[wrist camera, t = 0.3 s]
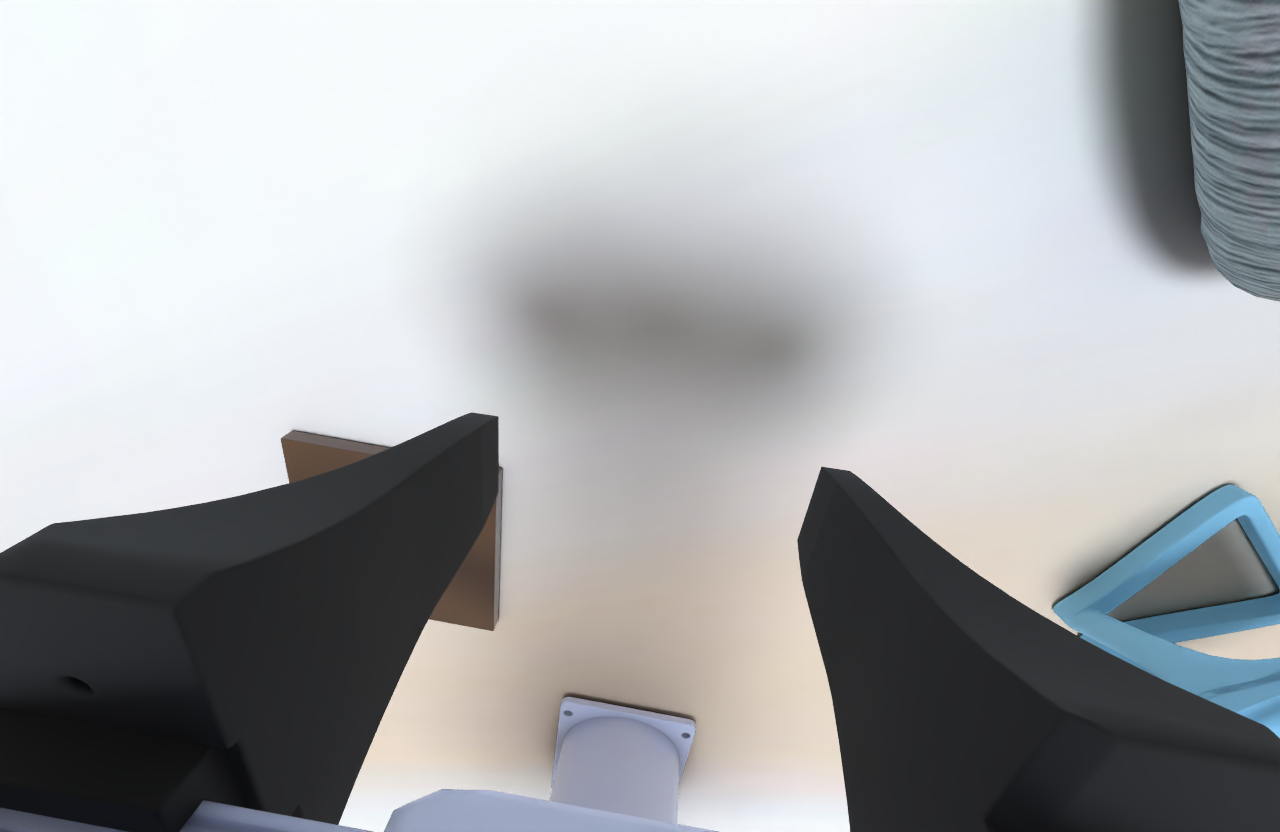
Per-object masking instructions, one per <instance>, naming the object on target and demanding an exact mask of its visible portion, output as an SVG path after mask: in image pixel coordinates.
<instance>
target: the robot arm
mask: <svg viewBox="0 0 1280 832" xmlns="http://www.w3.org/2000/svg"><path fill="white" fill-rule="evenodd" d="M498 492H499V462H498V417H497V416H491V415H484V414H478V413H469V414H466V415H463V416H461V417H458V418H456V419H454V420H452V421H449V422H447V423H445V424H443V425H441V426H438V427H436V428H434V429H432V430H430V431H428V432H425V433H423V434H421V435H419V436H417V437H414V438H412V439H410V440H408V441H406V442H403V443H401V444H399V445H397V446H394V447H392V448H389V449H387V450H384V451H382V452H379V453H377V454H374V455H372V456H370V457H367V458H365V459H362V460H360V461H357V462H355V463H352V464H349V465H347V466H344V467H341V468H338V469H335V470H332V471H329V472H326V473H323V474H320V475H316V476H313V477H310V478H307V479H304V480H300V481H297V482H293V483H289V484H285V485H281V486H277V487H273V488H269V489H265V490H261V491H257V492H253V493H249V494H245V495H241V496H236V497H232V498H227V499H222V500H217V501H212V502H207V503H201V504H196V505H190V506H184V507H178V508H172V509H167V510H160V511H153V512H147V513H139V514H131V515H123V516H114V517H106V518H98V519H90V520H81V521H73V522H62V523H54V524H51V525H49V526H47V527H45V528H43V529H42V530H40V531H38V532H37V533H35V534H33V535H32V536H30V537H28V538H26V539H25V540H23V541H21V542H19V543H18V544H16V545H14V546H12V547H10V548H9V549H7V550H5V551H3V552H2V553H0V832H372V831H367V830H361V829H356V828H351V827H345V826H340V825H338V824H339V821H340V819H341V816H342V814H343V811H344V809H345V806H346V804H347V801H348V798H349V796H350V793H351V791H352V788H353V786H354V783H355V781H356V778H357V776H358V774H359V771H360V769H361V766H362V764H363V762H364V759H365V757H366V755H367V752H368V750H369V747H370V745H371V743H372V740H373V738H374V736H375V733H376V731H377V728H378V726H379V724H380V721H381V719H382V717H383V715H384V712H385V710H386V708H387V706H388V703H389V701H390V699H391V697H392V695H393V692H394V690H395V688H396V686H397V683H398V681H399V679H400V677H401V675H402V672H403V670H404V668H405V666H406V664H407V662H408V660H409V658H410V655H411V653H412V651H413V649H414V647H415V645H416V643H417V641H418V639H419V637H420V634H421V632H422V630H423V628H424V626H425V625H426V623H427V621H428V619H429V617H430V616H431V614H432V612H433V610H434V608H435V607H436V605H437V604H438V602H439V600H440V599H441V597H442V595H443V594H444V592H445V590H446V589H447V587H448V586H449V584H450V582H451V581H452V579H453V577H454V576H455V574H456V573H457V571H458V569H459V568H460V566H461V564H462V563H463V561H464V560H465V558H466V556H467V555H468V553H469V551H470V550H471V548H472V546H473V545H474V543H475V541H476V540H477V538H478V536H479V535H480V533H481V531H482V530H483V528H484V525H485V523H486V521H487V519H488V516H489V514H490V512H491V509H492V507H493V505H494V502H495V500H496V497H497V495H498ZM798 550H799V560H800V568H801V576H802V582H803V586H804V590H805V594H806V598H807V602H808V606H809V609H810V613H811V617H812V621H813V624H814V628H815V632H816V636H817V639H818V643H819V647H820V650H821V654H822V658H823V662H824V665H825V669H826V673H827V677H828V681H829V686H830V690H831V695H832V700H833V706H834V713H835V719H836V725H837V732H838V738H839V744H840V752H841V759H842V766H843V774H844V781H845V789H846V796H847V804H848V813H849V822H850V832H1280V738H1279V737H1278V736H1277V735H1276V734H1275V733H1274V732H1272V731H1271V730H1270V729H1269V728H1268V727H1266V726H1265V725H1263V724H1260V723H1258V722H1256V721H1254V720H1251V719H1249V718H1247V717H1245V716H1242V715H1240V714H1238V713H1236V712H1233V711H1231V710H1229V709H1227V708H1225V707H1222V706H1220V705H1218V704H1216V703H1213V702H1211V701H1209V700H1207V699H1204V698H1202V697H1200V696H1198V695H1195V694H1193V693H1191V692H1189V691H1186V690H1184V689H1182V688H1180V687H1177V686H1175V685H1173V684H1171V683H1169V682H1166V681H1164V680H1162V679H1160V678H1158V677H1156V676H1154V675H1152V674H1150V673H1148V672H1146V671H1144V670H1142V669H1140V668H1138V667H1136V666H1134V665H1132V664H1130V663H1128V662H1126V661H1124V660H1122V659H1120V658H1118V657H1116V656H1114V655H1112V654H1110V653H1108V652H1106V651H1104V650H1103V649H1101V648H1099V647H1097V646H1095V645H1093V644H1091V643H1090V642H1088V641H1086V640H1084V639H1082V638H1080V637H1078V636H1077V635H1075V634H1073V633H1071V632H1070V631H1068V630H1066V629H1064V628H1063V627H1061V626H1059V625H1057V624H1056V623H1054V622H1052V621H1051V620H1049V619H1047V618H1045V617H1044V616H1042V615H1040V614H1039V613H1037V612H1035V611H1033V610H1032V609H1030V608H1029V607H1027V606H1025V605H1024V604H1022V603H1021V602H1019V601H1017V600H1016V599H1014V598H1013V597H1011V596H1009V595H1008V594H1007V593H1005V592H1004V591H1002V590H1001V589H999V588H998V587H996V586H995V585H993V584H992V583H990V582H989V581H987V580H986V579H984V578H983V577H981V576H980V575H978V574H977V573H975V572H974V571H973V570H971V569H970V568H968V567H967V566H966V565H964V564H963V563H962V562H960V561H959V560H958V559H956V558H955V557H954V556H952V555H951V554H950V553H949V552H947V551H946V550H945V549H943V548H942V547H941V546H939V545H938V544H937V543H936V542H934V541H933V540H932V539H931V538H929V537H928V536H927V535H926V534H924V533H923V532H922V531H921V530H920V529H918V528H917V527H916V526H915V525H914V524H912V523H911V522H910V521H909V520H908V519H907V518H905V517H904V516H903V515H902V514H901V513H900V512H898V511H897V510H896V509H895V508H894V507H893V506H892V505H890V504H889V503H888V502H887V501H886V500H885V499H884V498H882V497H881V496H880V495H879V494H878V493H877V492H875V491H874V490H873V489H872V488H871V487H870V486H868V485H867V484H866V483H865V482H864V481H862V480H861V479H860V478H859V477H857V476H856V475H855V474H853V473H852V472H850V471H846V470H839V469H833V468H826V467H821V470H820V473H819V476H818V479H817V482H816V485H815V488H814V492H813V495H812V498H811V501H810V504H809V507H808V510H807V513H806V516H805V519H804V522H803V525H802V528H801V531H800V534H799V537H798ZM695 732H696V724H695V722H694V721H692V720H690V719H686V718H680V717H675V716H670V715H665V714H659V713H654V712H649V711H643V710H638V709H633V708H628V707H622V706H617V705H612V704H606V703H601V702H596V701H590V700H585V699H580V698H575V697H565V698H563V699H562V702H561V706H560V715H559V724H558V732H557V741H556V749H555V758H554V767H553V775H552V784H551V788H552V791H551V795H550V800H549V801H546V800H541V799H535V798H530V797H524V796H519V795H513V794H507V793H502V792H496V791H488V790H452V789H441V790H439V791H437V792H434V793H432V794H429V795H427V796H425V797H422V798H420V799H417V800H415V801H412V802H410V803H408V804H406V805H404V806H402V807H400V808H398V809H396V810H394V811H393V813H392V815H391V818H390V820H389V822H388V824H387V826H386V828H385V830H384V832H718V831H712V830H707V829H701V828H695V827H690V826H684V825H679V824H677V812H678V786H679V783H680V780H681V776H682V773H683V770H684V767H685V764H686V761H687V758H688V754H689V751H690V748H691V745H692V742H693V739H694V735H695Z"/></svg>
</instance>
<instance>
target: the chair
mask: <svg viewBox="0 0 1280 832" xmlns="http://www.w3.org/2000/svg"><path fill="white" fill-rule="evenodd" d="M1236 518H1237V519H1238V521H1239V523H1240V524H1241V526H1242V528H1243V529H1244V531H1245V533H1246V534H1247V536H1248V537H1249V539H1250V541H1251V542H1252V544H1253V546H1254V547H1255V549H1256V551H1257V552H1258V554H1259V556H1260V557H1261V559H1262V561H1263V562H1264V564H1265V566H1266V567H1267V569H1268V570H1269V572H1270V574H1271V575H1272V577H1273V579H1274V580H1275V582H1276V584H1277V585H1278V587H1279V589H1280V535H1279V533H1278V532H1277V530H1276V528H1275V526H1274V525H1273V523H1272V521H1271V520H1270V518H1269V516H1268V514H1267V513H1266V511H1265V509H1264V507H1263V506H1262V504H1261V502H1260V501H1259V499H1258V498H1257V497H1255V496H1254V495H1252V494H1250V493H1248V492H1246V491H1245V490H1243V489H1241V488H1239V487H1237V486H1235V485H1231V484H1229V485H1226V486H1223V487H1221V488H1219V489H1218V490H1216V491H1214V492H1212V493H1211V494H1209V495H1208V496H1206V497H1205V498H1203V499H1202V500H1200V501H1199V502H1197V503H1196V504H1195V505H1193V506H1192V507H1190V508H1189V509H1188V510H1186V511H1185V512H1184V513H1182V514H1181V515H1180V516H1178V517H1177V518H1175V519H1174V520H1173V521H1171V522H1170V523H1169V524H1167V525H1166V526H1165V527H1163V528H1162V529H1161V530H1159V531H1158V532H1157V533H1155V534H1154V535H1153V536H1152V537H1150V538H1149V539H1148V540H1146V541H1145V542H1144V543H1142V544H1141V545H1140V546H1138V547H1137V548H1136V549H1134V550H1133V551H1132V552H1130V553H1129V554H1128V555H1126V556H1125V557H1124V558H1122V559H1121V560H1120V561H1118V562H1117V563H1116V564H1114V565H1113V566H1112V567H1110V568H1109V569H1107V570H1106V571H1105V572H1103V573H1102V574H1101V575H1099V576H1098V577H1097V578H1095V579H1094V580H1092V581H1091V582H1089V583H1088V584H1086V585H1085V586H1083V587H1082V588H1080V589H1079V590H1077V591H1076V592H1074V593H1073V594H1071V595H1070V596H1068V597H1066V598H1065V599H1063V600H1062V601H1060V602H1059V603H1057V604H1056V605H1055V606H1054V612H1055V613H1056V614H1057V615H1058V616H1059V617H1060V618H1061V619H1062V620H1063V621H1064V622H1065V623H1066V624H1067V625H1068V626H1069V627H1071V628H1072V629H1074V630H1076V631H1078V632H1080V633H1082V635H1081V636H1080V638H1082V639H1084V640H1086V641H1088V642H1090V643H1091V644H1093V645H1095V646H1097V647H1099V648H1101V649H1103V650H1104V651H1106V652H1108V653H1110V654H1112V655H1114V656H1116V657H1118V658H1120V659H1122V660H1124V661H1126V662H1128V663H1130V664H1132V665H1134V666H1136V667H1138V668H1140V669H1142V670H1144V671H1146V672H1148V673H1150V674H1152V675H1154V676H1156V677H1158V678H1160V679H1162V680H1164V681H1166V682H1169V683H1171V684H1173V685H1175V686H1177V687H1180V688H1182V689H1184V690H1186V691H1189V692H1191V693H1193V694H1195V695H1198V696H1200V697H1202V698H1204V699H1207V700H1209V701H1211V702H1213V703H1216V704H1218V705H1220V706H1222V707H1225V708H1227V709H1229V710H1231V711H1233V712H1236V713H1238V714H1240V715H1242V716H1245V717H1247V718H1249V719H1251V720H1254V721H1256V722H1258V723H1260V724H1263V725H1265V726H1266V727H1268V728H1269V729H1270V730H1271V731H1272V732H1274V733H1275V734H1276V735H1277V736H1278V737H1279V738H1280V658H1273V659H1261V660H1238V659H1229V658H1223V657H1217V656H1212V655H1207V654H1204V653H1201V652H1198V651H1195V650H1192V649H1188V648H1185V647H1182V646H1179V645H1177V644H1174V643H1177V642H1182V641H1188V640H1194V639H1199V638H1205V637H1211V636H1216V635H1222V634H1227V633H1233V632H1238V631H1244V630H1250V629H1255V628H1260V627H1265V626H1270V625H1275V624H1280V590H1279V593H1278V594H1276V595H1272V596H1269V597H1263V598H1258V599H1252V600H1247V601H1241V602H1235V603H1229V604H1224V605H1218V606H1212V607H1206V608H1200V609H1194V610H1188V611H1182V612H1176V613H1171V614H1165V615H1159V616H1153V617H1148V618H1143V619H1137V620H1132V621H1126V622H1121V621H1119V620H1117V619H1115V618H1113V617H1110V616H1108V615H1107V614H1108V613H1109V612H1111V611H1112V610H1114V609H1115V608H1117V607H1118V606H1119V605H1121V604H1122V603H1123V602H1125V601H1126V600H1128V599H1129V598H1130V597H1132V596H1133V595H1134V594H1136V593H1137V592H1138V591H1140V590H1141V589H1142V588H1144V587H1145V586H1146V585H1148V584H1149V583H1150V582H1152V581H1153V580H1154V579H1156V578H1157V577H1158V576H1160V575H1161V574H1162V573H1164V572H1165V571H1166V570H1168V569H1169V568H1170V567H1172V566H1173V565H1174V564H1176V563H1177V562H1178V561H1180V560H1181V559H1182V558H1184V557H1185V556H1186V555H1188V554H1189V553H1190V552H1192V551H1193V550H1194V549H1196V548H1197V547H1198V546H1200V545H1201V544H1202V543H1204V542H1205V541H1206V540H1208V539H1209V538H1210V537H1212V536H1213V535H1214V534H1216V533H1217V532H1218V531H1220V530H1221V529H1222V528H1224V527H1225V526H1227V525H1228V524H1229V523H1231V522H1232V521H1234V520H1235V519H1236Z"/></svg>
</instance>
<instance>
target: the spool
mask: <svg viewBox="0 0 1280 832" xmlns="http://www.w3.org/2000/svg"><path fill="white" fill-rule="evenodd" d="M1179 7H1180V13H1181V19H1182V25H1183V49H1184V57H1185V65H1186V74H1187V90H1188V105H1189V115H1190V128H1191V145H1192V152H1193V163H1194V176H1195V191H1196V196H1197V200H1198V204H1199V207H1200V210H1201V213H1202V216H1201V234H1202V236H1203V238H1204V240H1205V242H1206V244H1207V247H1208V250H1209V254H1210V258H1211V261H1212V262H1213V264H1214V265H1215V267H1216V268H1217V270H1218V271H1219V272H1220V273H1221V274H1222V275H1223V276H1224V277H1225V278H1226V279H1227V280H1229V281H1230V282H1231V283H1232V284H1233V285H1234V286H1235V287H1237V288H1239V289H1242V290H1244V291H1246V292H1248V293H1250V294H1252V295H1254V296H1256V297H1261V298H1266V299H1270V300H1275V301H1280V0H1179Z"/></svg>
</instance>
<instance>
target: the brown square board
mask: <svg viewBox="0 0 1280 832" xmlns="http://www.w3.org/2000/svg"><path fill="white" fill-rule="evenodd" d="M281 443H282V448H283V453H284V458H285V463H286V468H287V473H288V478H289V483H293V482H297V481H300V480H304V479H307V478H310V477H313V476H316V475H320V474H323V473H326V472H329V471H332V470H335V469H338V468H341V467H344V466H347V465H349V464H352V463H355V462H357V461H360V460H362V459H365V458H367V457H370V456H372V455H374V454H377V453H379V452H382V451H384V450H387V449H389V448H387V447H381V446H376V445H370V444H365V443H359V442H353V441H348V440H342V439H336V438H331V437H325V436H320V435H314V434H308V433H303V432H297V431H291V432H290V433H288V434H287V435H285V436H284V437H282V438H281ZM501 495H502V468H499V492H498V495H497V497H496V500H495V502H494V505H493V507H492V509H491V512H490V514H489V516H488V519H487V521H486V523H485V525H484V528H483V530H482V531H481V533H480V535H479V536H478V538H477V540H476V541H475V543H474V545H473V546H472V548H471V550H470V551H469V553H468V555H467V556H466V558H465V560H464V561H463V563H462V564H461V566H460V568H459V569H458V571H457V573H456V574H455V576H454V577H453V579H452V581H451V582H450V584H449V586H448V587H447V589H446V590H445V592H444V594H443V595H442V597H441V599H440V600H439V602H438V604H437V605H436V607H435V608H434V610H433V612H432V614H431V616H430V617H429V619H431V620H436V621H442V622H447V623H452V624H458V625H463V626H468V627H474V628H479V629H485V630H490V631H494V629H495V626H496V624H497V622H498V609H499V571H500V533H501Z"/></svg>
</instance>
